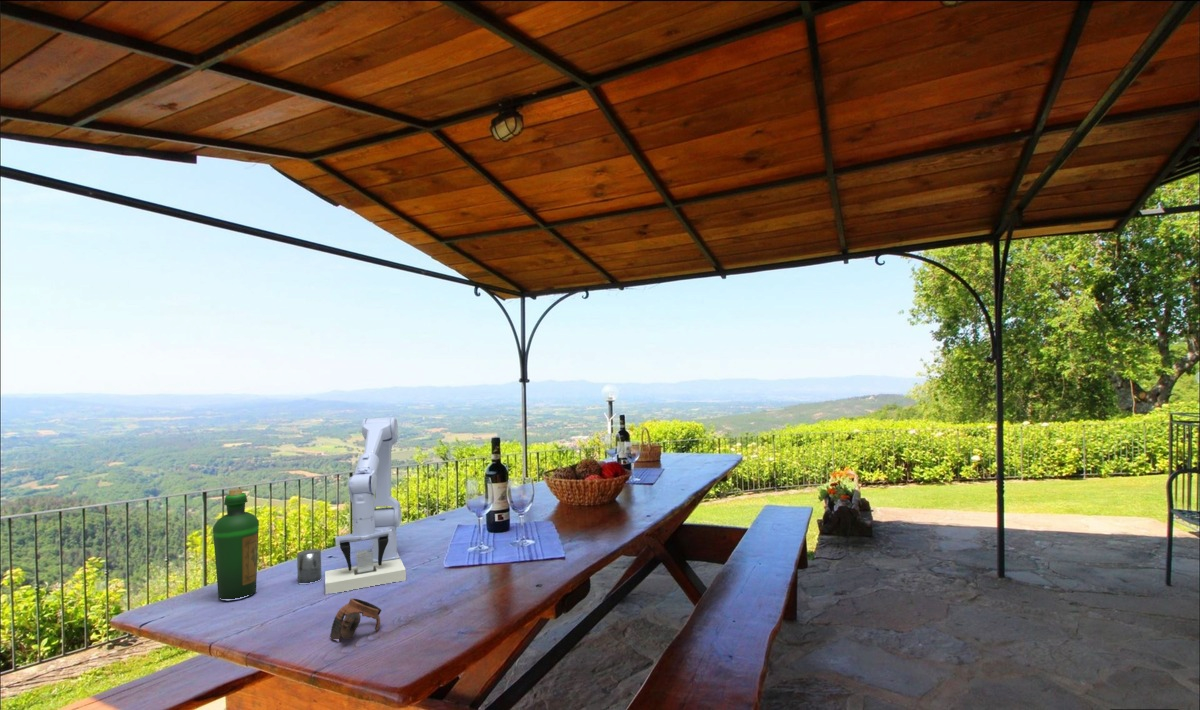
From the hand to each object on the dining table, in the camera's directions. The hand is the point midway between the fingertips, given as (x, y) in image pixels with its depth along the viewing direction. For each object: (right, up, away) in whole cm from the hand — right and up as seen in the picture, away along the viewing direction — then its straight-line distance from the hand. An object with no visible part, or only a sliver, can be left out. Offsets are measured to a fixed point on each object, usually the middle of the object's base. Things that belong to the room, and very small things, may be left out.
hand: (365, 567), depth 161 cm
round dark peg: (-17, -5, +3) cm, 18 cm away
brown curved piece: (+12, -2, -36) cm, 38 cm away
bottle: (-31, -5, -7) cm, 32 cm away
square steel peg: (0, -4, 0) cm, 4 cm away
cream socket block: (0, -4, 0) cm, 4 cm away
